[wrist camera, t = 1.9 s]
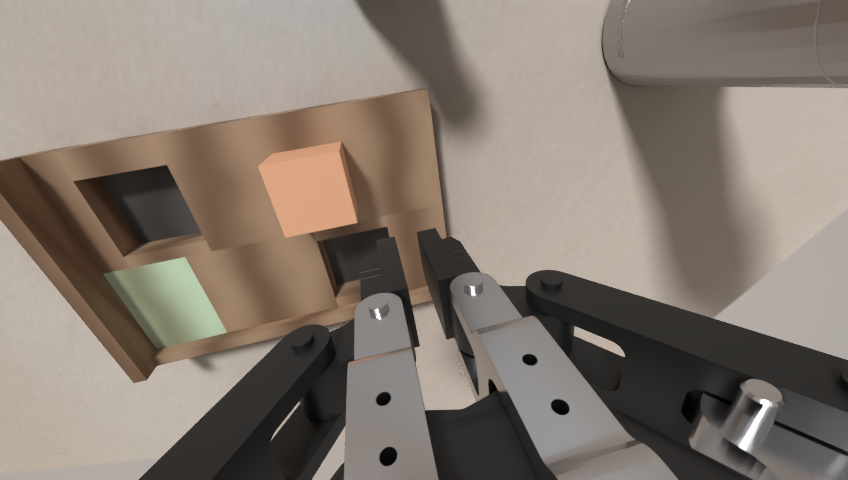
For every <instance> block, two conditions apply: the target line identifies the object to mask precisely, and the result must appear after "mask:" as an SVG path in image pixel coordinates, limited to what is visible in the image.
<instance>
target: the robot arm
mask: <svg viewBox="0 0 848 480" xmlns="http://www.w3.org/2000/svg"><path fill="white" fill-rule="evenodd" d="M603 51H604V57H605V60H606V62H607V65H608V67H609V69H610V70H611V72H612V73H613V74H614V76H615V77H617V78H618V79H619V80H620V81H622V82H624V83H627V84H630V85H650V86H716V87H803V88H848V0H612V1H611V2H610V5H609V8H608V11H607V14H606V17H605V22H604V28H603ZM417 238H418V244H419V250H420V256H421V262H422V268H423V272H424V277H425V280H426V283H427V286H428V289H429V292H430V294H431V297H432V300H433V303H434V305H435V308H436V311H437V314H438V317H439V319H440V322H441V325H442V328H443V330H444V333H445V336H446V339H450V338H454V337H455V340H456V342H457V347H458V355H459V358H460V361H461V363H462V366H463V369H464V371H465V374H466V376H467V379H468V381H469V384H470V386H471V389H472V392H473V394H474V397H475V399H476V402H475V403H474V404H472V405H470V406H469V407H467V408H464V409H460V410H425V407H424V402H423V397H422V393H421V388H420V383H419V378H418V374H417V369H416V364H415V362H416V354H415V349H414V348H415V347H419V346H420V345H419V340H418V335H417V330H416V325H415V320H414V315H413V310H412V305H411V300H410V295H409V290H408V286H407V282H406V278H405V274H404V270H403V267H402V263H401V259H400V255H399V251H398V247H397V244H396V240H395V236H394V237H390V238H385V239H380V240H376V243H377V250H378V253H375V254H370V255H366V256H364V258H363V260H362V261H361V263H360V290H361V302H360V303H359V304H358V306H357V307H356V309H355V318H354V319H353V320H351V321H350V322H349V323H347V324H346V325H344V326H342V327H340V328H338V329H336V330H334V331H332V332H329V330H328V329H327V328H326V327H325V326H322V325H318V324H311V325H306V326H303V327H300V328H298V329H295V330H294V331H292V332H290V333H289V334H288V335H286V336H285V337H284V338H283V339H282V340H281V341H280V342H279V343H278V344H277V345H276V346H275V347H274V348H273V349H272V350H271V351H270V352H269V353H268V354H267V355H266V356H265V357H264V358H263V359H262V360H261V361H260V362H258V363H257V364H256V365H255V366H254V367H253V368H252V369H251V370H250V371H249V372H248V373H247V374H246V375H245V376H244V377H243V378H242V379H241V380H240V381H239V382H238V383H237V384H236V385H235V386H234V387H233V388H232V389H231V390H230V391H229V392H228V393H227V394H226V395H225V396H224V397H223V398H222V399H221V400H220V401H219V402H218V403H217V404H216V405H215V406H213V407H212V408H211V409H210V410H209V411H208V412H207V413H206V414H205V415H204V416H203V417H202V418H201V419H200V420H199V421H198V422H197V423H196V424H195V425H194V426H193V427H192V428H191V429H190V430H189V431H188V432H187V433H186V434H185V435H184V436H183V437H182V438H181V439H180V440H179V441H178V442H177V443H176V444H175V445H174V446H173V447H172V448H171V449H170V450H168V451H167V452H166V453H165V454H164V455H163V456H162V457H161V458H160V459H159V460H158V461H157V463H155V464H154V465H153V466H152V467H151V468H150V469H149V470H148V471H147V472H146V473H145V474H144V475H143V476H142V477H141V478H140V479H139V480H312V478H313V476H314V475H315V473H316V471H317V470H318V468H319V467H320V465H321V464H322V462H323V460H324V459H325V457H326V456H327V454H328V452H329V451H330V449H331V448H332V446H333V444H334V443H335V441H336V440H337V438H338V436H339V435H340V433H341V432H342V430H343V428H344V427H345V425H346V429H345V461H344V463H343V464H342V465H341V466H340V468H339V469H338V470H337V471H336V473H335V474H334V475H333V477H332V478H331V480H848V360H845V359H842V358H839V357H836V356H832V355H829V354H826V353H823V352H819V351H816V350H813V349H810V348H807V347H803V346H800V345H797V344H793V343H790V342H787V341H783V340H781V339H777V338H774V337H771V336H767V335H764V334H761V333H758V332H755V331H751V330H748V329H745V328H742V327H738V326H735V325H732V324H729V323H726V322H722V321H719V320H716V319H713V318H709V317H706V316H703V315H700V314H696V313H693V312H690V311H687V310H683V309H680V308H677V307H674V306H670V305H667V304H664V303H661V302H658V301H654V300H651V299H648V298H645V297H641V296H638V295H635V294H632V293H628V292H625V291H622V290H619V289H615V288H612V287H609V286H606V285H602V284H599V283H596V282H593V281H590V280H586V279H583V278H580V277H577V276H573V275H570V274H567V273H564V272H560V271H555V270H542V271H537V272H535V273H533V274H531V275H530V276H528V278H527V279H526V286H501V285H498V283H497V282H496V280H495V279H494V278H493V277H491V276H489V275H487V274H484V273H481V272H480V271H479V269H478V268H477V266H476V265H475V263H474V262H473V260H472V259H471V257H470V256H469V255H468V253H467V251H466V250H465V248H464V247H463V245H462V244H461V242H460V241H458V240H456V239H454V238H452V237H448V238H444V239H441V237H440V235H439V233H438V232H437V230H436V228H432V229H427V230H423V231H418V232H417ZM574 326H576V327H579V328H581V329H584V330H586V331H588V332H591V333H593V334H596V335H598V336H601V337H603V338H606V339H608V340H610V341H612V342H614V343H616V344H617V345H619V346H620V347H621V349H622V350H623V351H624V353H625V357H622V356H619V355H617V354H615V353H612V352H610V351H608V350H605V349H603V348H601V347H599V346H596V345H594V344H592V343H589V342H587V341H585V340H582V339H580V338H578V337H575V336H574ZM298 402H300V405H299V406H298V407H297V409H296V410H295V411H294V412H293V414H292V415H291V416H290V418H289V419H288V420H287V421H286V423H285V424H284V425H283V426H282V428H281V429H280V430H279V432H278V433H277V434H276V435H275V437H274V438H273V439H272V440H271V438H272V436H273V434H274V432H275V431H276V429H277V428H278V427H279V426H280V424H281V423H282V422H283V421H284V419H285V418H286V417H287V416H288V414H289V413H290V412H291V411H292V409H293V408H294V407H295V405H296V404H297V403H298ZM270 441H271V442H270Z"/></svg>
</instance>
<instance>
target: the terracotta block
mask: <svg viewBox="0 0 848 480" xmlns="http://www.w3.org/2000/svg"><path fill="white" fill-rule="evenodd" d="M258 168H259V171H260V173H261V176H262V178H263V181H264V184H265V186H266V189H267V191H268V194H269V197H270V199H271V202H272V205H273V207H274V210H275V212H276V215H277V218H278V220H279V223H280V225H281V228H282V231H283V233H284V236H285V238H287V237H292V236H297V235H302V234H306V233H311V232H316V231H321V230H326V229H331V228H336V227H340V226H345V225H350V224H355V223H358V220H357V202H356V198H355V194H354V190H353V186H352V182H351V178H350V174H349V170H348V166H347V162H346V158H345V154H344V150H343V146H342V142H335V143H330V144H324V145H319V146H313V147H307V148H302V149H296V150H290V151H285V152H279V153H274V154H272V155H270V156H269V157H268V158H267V159H266V160H265V161H264V162H262V163H261V164H260V165H259V166H258Z"/></svg>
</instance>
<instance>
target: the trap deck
mask: <svg viewBox="0 0 848 480" xmlns="http://www.w3.org/2000/svg"><path fill="white" fill-rule="evenodd" d="M335 142H342V146H343V150H344V154H345V158H346V162H347V166H348V170H349V174H350V178H351V182H352V186H353V190H354V194H355V198H356V202H357V220H358V223H355V224H350V225H345V226H340V227H336V228H331V229H326V230H321V231H316V232H311V233H306V234H302V235H297V236H292V237H287V238H285V236H284V233H283V231H282V228H281V225H280V223H279V220H278V218H277V215H276V212H275V210H274V207H273V205H272V202H271V199H270V197H269V194H268V191H267V189H266V186H265V184H264V181H263V178H262V176H261V173H260V171H259V168H258V166H259V165H260V164H261V163H262V162H264V161H265V160H266V159H267V158H268V157H269V156H270V155H272V154H274V153H279V152H285V151H290V150H296V149H302V148H307V147H313V146H319V145H324V144H330V143H335ZM0 220H1V221H2V222H3V223H4V225H5V226H6V227H7V228H8V230H9V231H10V232H11V233H12V234H13V236H14V237H15V238H16V239H17V241H18V242H19V243H20V244H21V245H22V247H23V248H24V249H25V250H26V252H27V253H28V254H29V255H30V256H31V258H32V259H33V260H34V261H35V263H36V264H37V265H38V266H39V267H40V269H41V270H42V271H43V272H44V274H45V275H46V276H47V277H48V278H49V280H50V281H51V282H52V283H53V285H54V286H55V287H56V288H57V289H58V291H59V292H60V293H61V294H62V296H63V297H64V298H65V299H66V300H67V302H68V303H69V304H70V305H71V307H72V308H73V309H74V310H75V311H76V313H77V314H78V315H79V316H80V318H81V319H82V320H83V321H84V322H85V324H86V325H87V326H88V327H89V329H90V330H91V331H92V332H93V333H94V335H95V336H96V337H97V338H98V340H99V341H100V342H101V343H102V345H103V346H104V347H105V348H106V349H107V351H108V352H109V353H110V354H111V356H112V357H113V358H114V359H115V360H116V362H117V363H118V364H119V365H120V367H121V368H122V369H123V370H124V371H125V373H126V374H127V375H128V376H129V378H130V379H131V380H132V381H133V382H134V383H136V382H140V381H144V380H147V379H148V378H149V376H150V375H151V373H152V372H153V370H154V369H155V368H156V366H158V365H162V364H167V363H171V362H175V361H179V360H183V359H188V358H192V357H196V356H200V355H204V354H209V353H213V352H217V351H221V350H225V349H230V348H234V347H238V346H242V345H247V344H251V343H255V342H259V341H263V340H268V339H272V338H276V337H280V336H284V335H288V334H289V333H290V332H292V331H294V330H295V329H298V328H300V327H303V326H306V325H311V324H318V325H322V326H326V325H331V324H335V323H339V322H343V321H347V320H352V319H354V318H355V309H356V307H357V306H358V304H359V303H360V302H361V290H360V263H361V261H362V260H363V258H364V256H366V255H370V254H375V253H378V250H377V243H376V240H380V239H385V238H390V237H394V236H395V240H396V244H397V247H398V251H399V255H400V259H401V263H402V267H403V270H404V274H405V278H406V282H407V286H408V290H409V295H410V300H411V305H415V304H419V303H423V302H427V301H432V297H431V294H430V292H429V289H428V286H427V283H426V280H425V277H424V272H423V268H422V262H421V256H420V250H419V244H418V238H417V232H418V231H423V230H427V229H432V228H436V230H437V232H438V233H439V235H440V237H441V239H444V238H446V230H445V221H444V213H443V205H442V197H441V189H440V181H439V172H438V164H437V156H436V148H435V140H434V131H433V123H432V115H431V107H430V99H429V90H428V89H418V90H412V91H406V92H400V93H394V94H388V95H382V96H376V97H370V98H364V99H358V100H352V101H346V102H340V103H334V104H327V105H321V106H315V107H309V108H303V109H297V110H291V111H285V112H279V113H273V114H267V115H261V116H255V117H249V118H243V119H237V120H230V121H224V122H218V123H212V124H206V125H200V126H194V127H188V128H182V129H176V130H170V131H164V132H158V133H152V134H146V135H139V136H133V137H127V138H121V139H115V140H109V141H103V142H97V143H91V144H85V145H79V146H73V147H67V148H61V149H55V150H48V151H42V152H36V153H32V154H27V155H23V156H18V157H14V158H9V159H5V160H0Z"/></svg>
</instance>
